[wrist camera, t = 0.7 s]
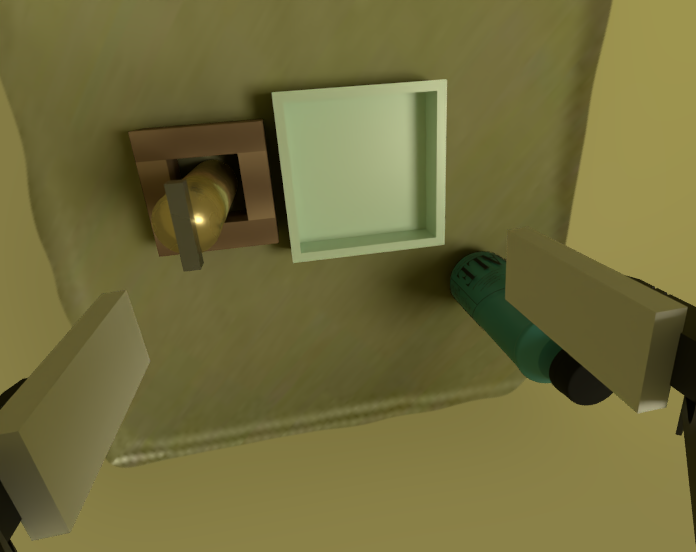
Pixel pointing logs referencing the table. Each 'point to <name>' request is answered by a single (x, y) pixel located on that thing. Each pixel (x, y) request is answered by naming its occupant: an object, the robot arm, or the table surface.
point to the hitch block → (208, 140)
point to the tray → (363, 167)
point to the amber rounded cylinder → (195, 211)
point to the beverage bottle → (519, 330)
